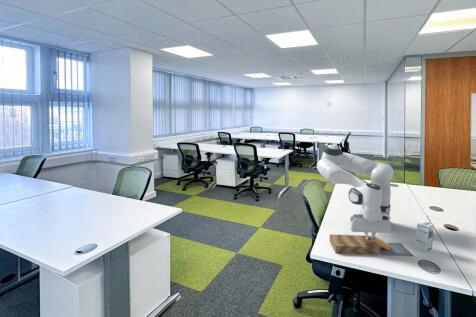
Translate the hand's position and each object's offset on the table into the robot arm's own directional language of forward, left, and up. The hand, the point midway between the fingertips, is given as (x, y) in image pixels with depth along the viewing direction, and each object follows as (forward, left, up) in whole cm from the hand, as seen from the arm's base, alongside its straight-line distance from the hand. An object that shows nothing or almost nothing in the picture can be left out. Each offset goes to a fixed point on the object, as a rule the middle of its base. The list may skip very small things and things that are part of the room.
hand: (369, 239), depth 151 cm
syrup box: (+13, +25, -5) cm, 29 cm away
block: (+3, +5, -2) cm, 6 cm away
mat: (+6, +10, -5) cm, 13 cm away
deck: (-4, -7, -5) cm, 9 cm away
